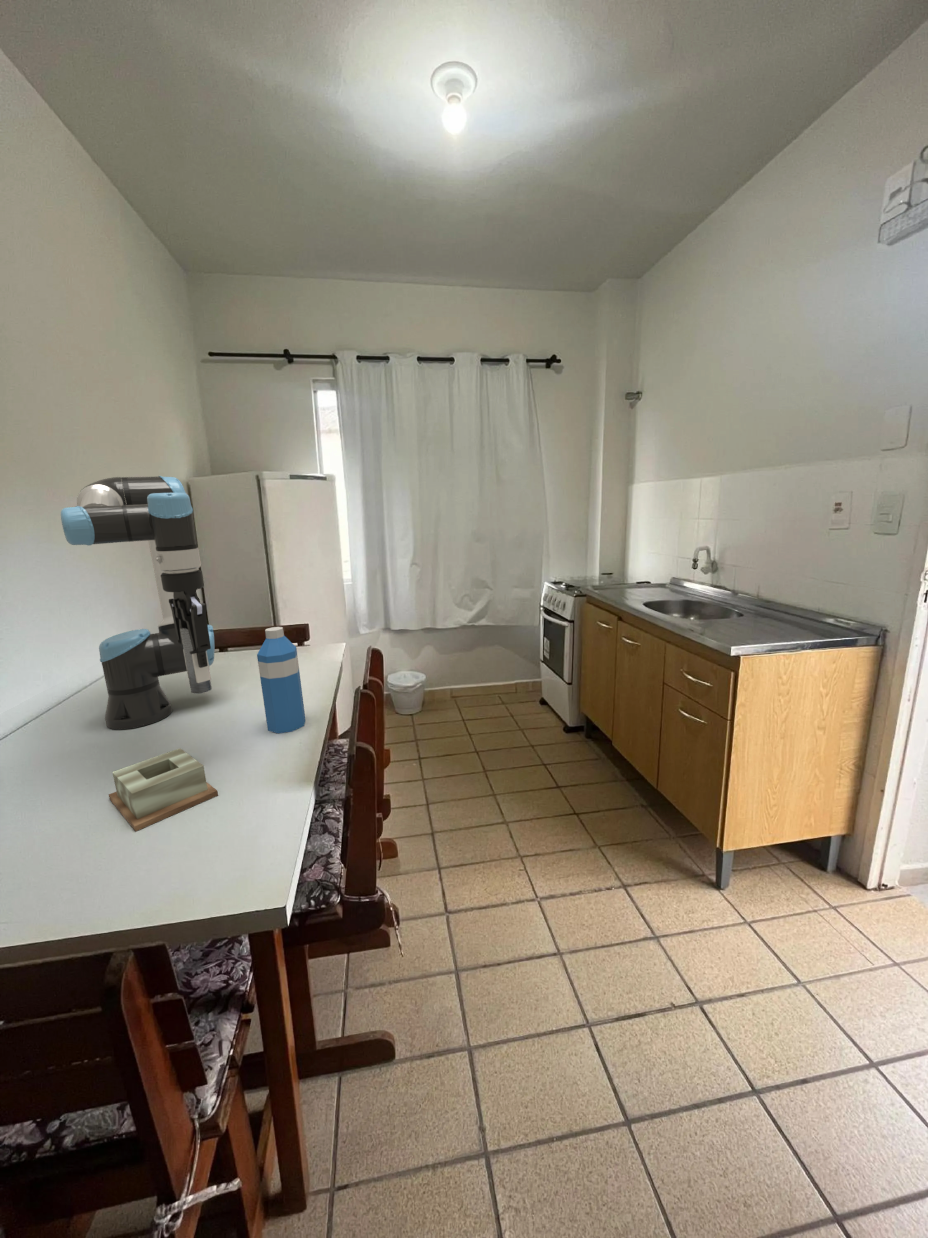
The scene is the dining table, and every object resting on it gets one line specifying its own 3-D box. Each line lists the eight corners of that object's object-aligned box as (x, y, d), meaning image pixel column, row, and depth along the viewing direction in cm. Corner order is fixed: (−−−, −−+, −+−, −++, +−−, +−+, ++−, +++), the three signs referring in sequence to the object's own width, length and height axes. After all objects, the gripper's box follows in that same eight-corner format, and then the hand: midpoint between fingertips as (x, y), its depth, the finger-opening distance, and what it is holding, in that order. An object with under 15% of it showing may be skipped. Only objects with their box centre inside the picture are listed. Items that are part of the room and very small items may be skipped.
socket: (109, 799, 99) (103, 770, 97) (186, 769, 109) (181, 743, 107) (135, 831, 88) (128, 800, 87) (218, 795, 98) (213, 766, 97)
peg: (188, 690, 110) (177, 628, 107) (207, 685, 113) (197, 624, 110) (195, 695, 108) (184, 630, 104) (214, 689, 110) (204, 626, 107)
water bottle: (294, 734, 123) (281, 633, 117) (259, 732, 125) (245, 633, 119) (313, 718, 132) (301, 624, 126) (280, 717, 134) (267, 624, 128)
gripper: (146, 570, 107) (166, 675, 113) (176, 576, 96) (197, 692, 101) (184, 565, 112) (201, 666, 118) (217, 570, 101) (234, 681, 107)
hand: (199, 678), depth 110 cm, fingers closed on peg, 4 cm apart
